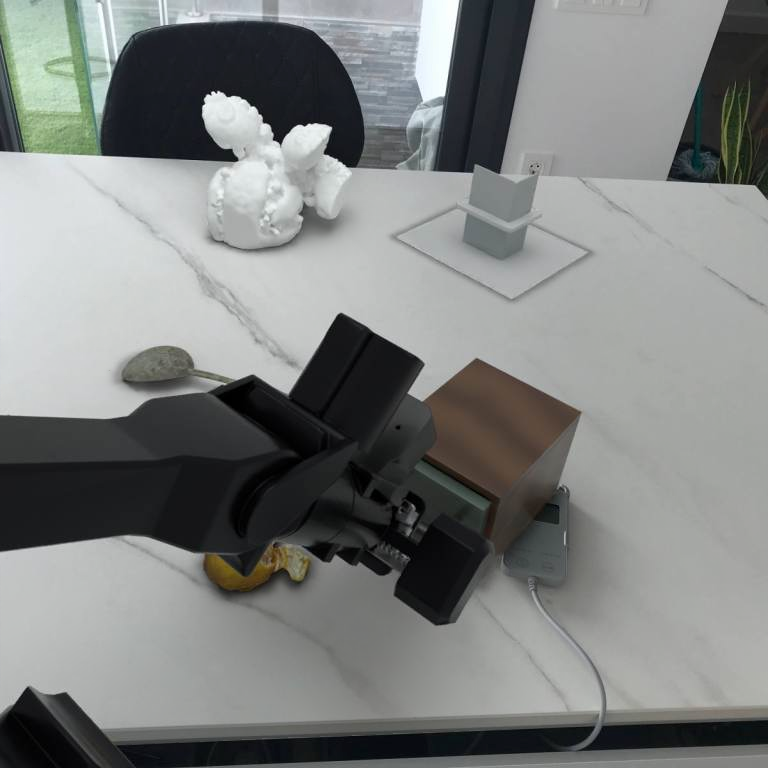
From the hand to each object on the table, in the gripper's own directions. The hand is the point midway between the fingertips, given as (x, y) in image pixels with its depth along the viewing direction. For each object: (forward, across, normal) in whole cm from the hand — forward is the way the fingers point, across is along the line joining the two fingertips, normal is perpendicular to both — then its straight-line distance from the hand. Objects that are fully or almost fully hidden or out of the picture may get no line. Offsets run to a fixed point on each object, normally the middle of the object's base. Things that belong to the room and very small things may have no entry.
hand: (399, 523), depth 60 cm
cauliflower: (+31, +51, -23) cm, 64 cm away
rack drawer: (+11, 0, -1) cm, 11 cm away
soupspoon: (+10, +29, 0) cm, 31 cm away
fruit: (+2, +10, +9) cm, 14 cm away
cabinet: (+14, 0, -4) cm, 14 cm away
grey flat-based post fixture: (+43, +25, -36) cm, 61 cm away
